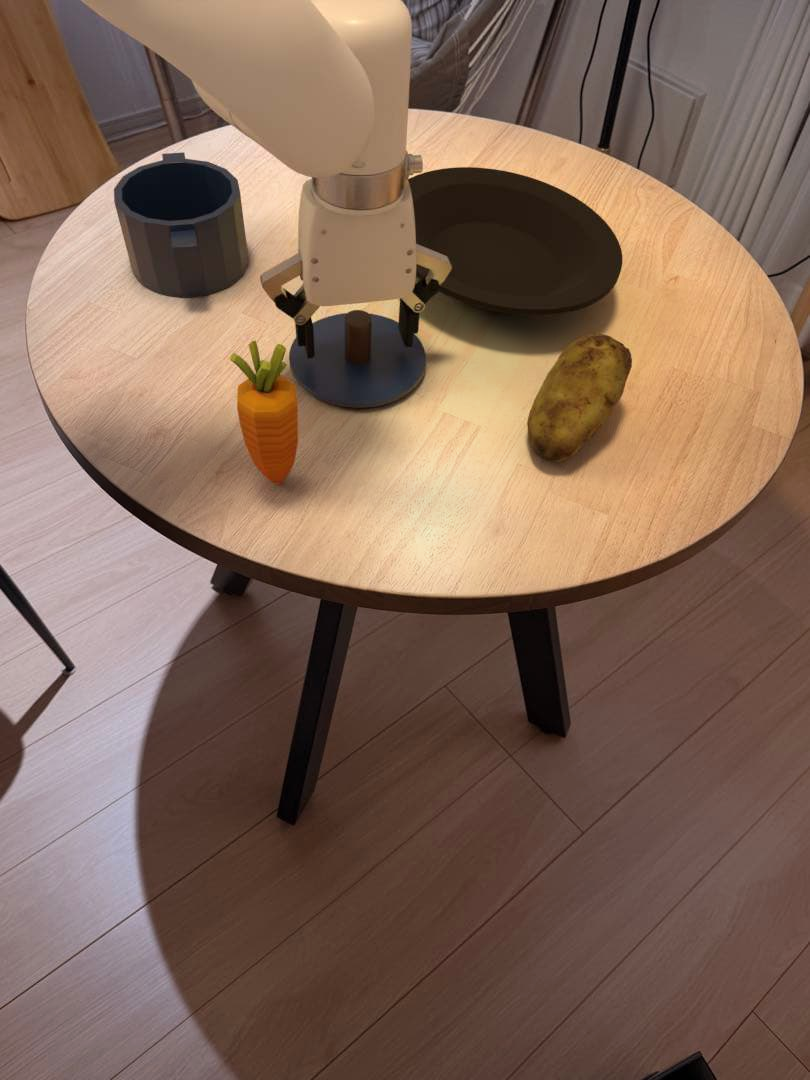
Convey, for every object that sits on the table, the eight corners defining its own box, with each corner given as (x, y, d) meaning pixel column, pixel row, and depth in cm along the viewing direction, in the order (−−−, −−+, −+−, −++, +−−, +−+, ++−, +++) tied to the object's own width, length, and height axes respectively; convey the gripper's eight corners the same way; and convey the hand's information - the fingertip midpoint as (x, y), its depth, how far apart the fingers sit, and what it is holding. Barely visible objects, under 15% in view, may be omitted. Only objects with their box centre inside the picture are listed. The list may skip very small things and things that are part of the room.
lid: (301, 420, 74) (297, 374, 70) (281, 329, 82) (276, 282, 77) (440, 402, 77) (445, 356, 72) (407, 315, 84) (410, 269, 80)
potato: (488, 431, 75) (501, 365, 68) (578, 374, 80) (597, 309, 74) (552, 483, 71) (572, 419, 65) (642, 420, 76) (668, 356, 70)
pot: (135, 319, 82) (115, 245, 75) (130, 222, 92) (112, 150, 85) (257, 306, 84) (248, 234, 77) (239, 213, 94) (230, 142, 87)
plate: (655, 300, 88) (672, 256, 84) (502, 388, 78) (511, 343, 74) (485, 190, 100) (491, 146, 96) (334, 253, 90) (333, 207, 86)
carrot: (239, 496, 68) (215, 361, 56) (262, 456, 71) (243, 320, 59) (293, 510, 68) (279, 377, 56) (313, 470, 71) (305, 335, 59)
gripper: (449, 144, 67) (433, 310, 81) (244, 157, 64) (263, 328, 78) (473, 190, 63) (452, 358, 76) (255, 208, 60) (274, 379, 73)
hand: (357, 343), depth 77 cm, fingers open, 9 cm apart
